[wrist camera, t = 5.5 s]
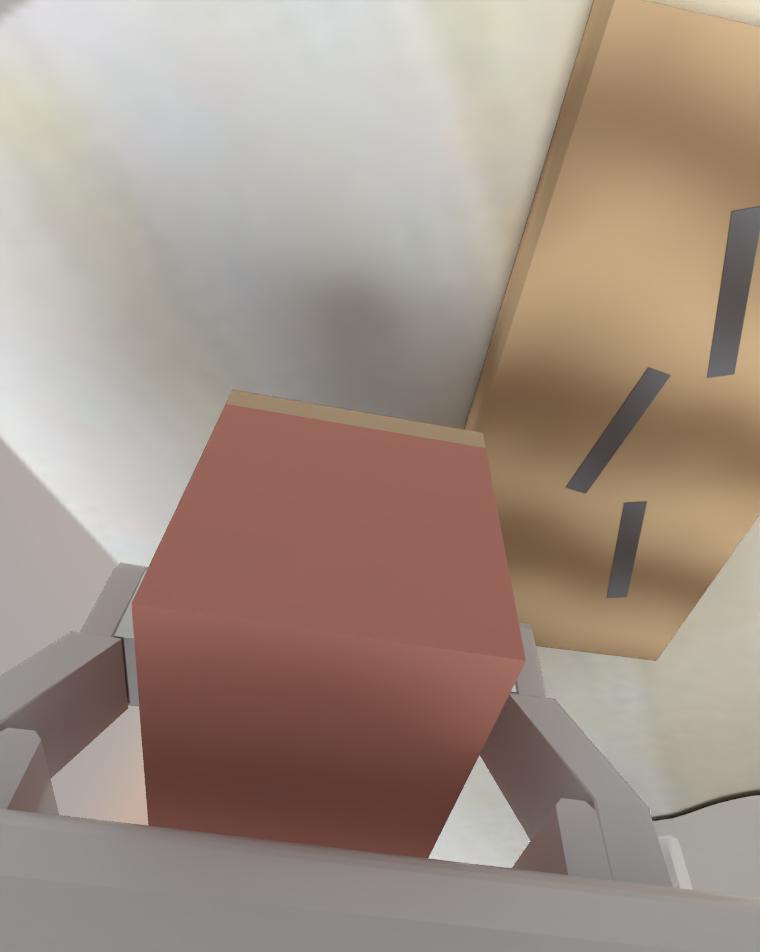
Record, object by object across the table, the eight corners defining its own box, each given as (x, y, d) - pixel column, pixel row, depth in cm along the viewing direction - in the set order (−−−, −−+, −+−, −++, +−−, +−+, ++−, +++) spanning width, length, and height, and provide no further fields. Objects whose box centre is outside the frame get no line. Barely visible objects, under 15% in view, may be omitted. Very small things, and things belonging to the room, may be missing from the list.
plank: (643, 628, 29) (656, 661, 28) (412, 599, 28) (414, 631, 27) (997, 86, 16) (1057, 94, 15) (595, -6, 15) (617, -6, 14)
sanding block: (405, 672, 15) (405, 904, 11) (221, 645, 15) (152, 875, 11) (483, 432, 11) (525, 661, 7) (232, 389, 11) (131, 604, 7)
